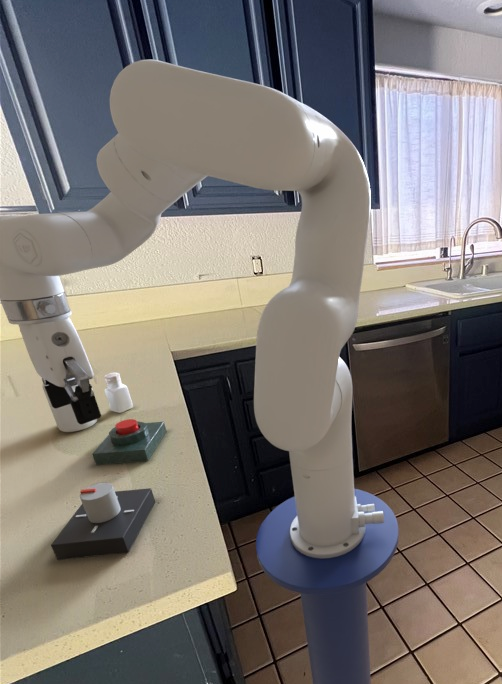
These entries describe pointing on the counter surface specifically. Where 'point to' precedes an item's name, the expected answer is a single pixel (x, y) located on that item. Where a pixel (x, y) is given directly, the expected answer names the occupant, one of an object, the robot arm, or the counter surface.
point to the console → (130, 444)
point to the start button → (127, 427)
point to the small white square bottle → (117, 393)
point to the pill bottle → (67, 416)
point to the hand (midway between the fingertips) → (76, 412)
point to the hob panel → (105, 528)
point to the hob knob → (100, 502)
